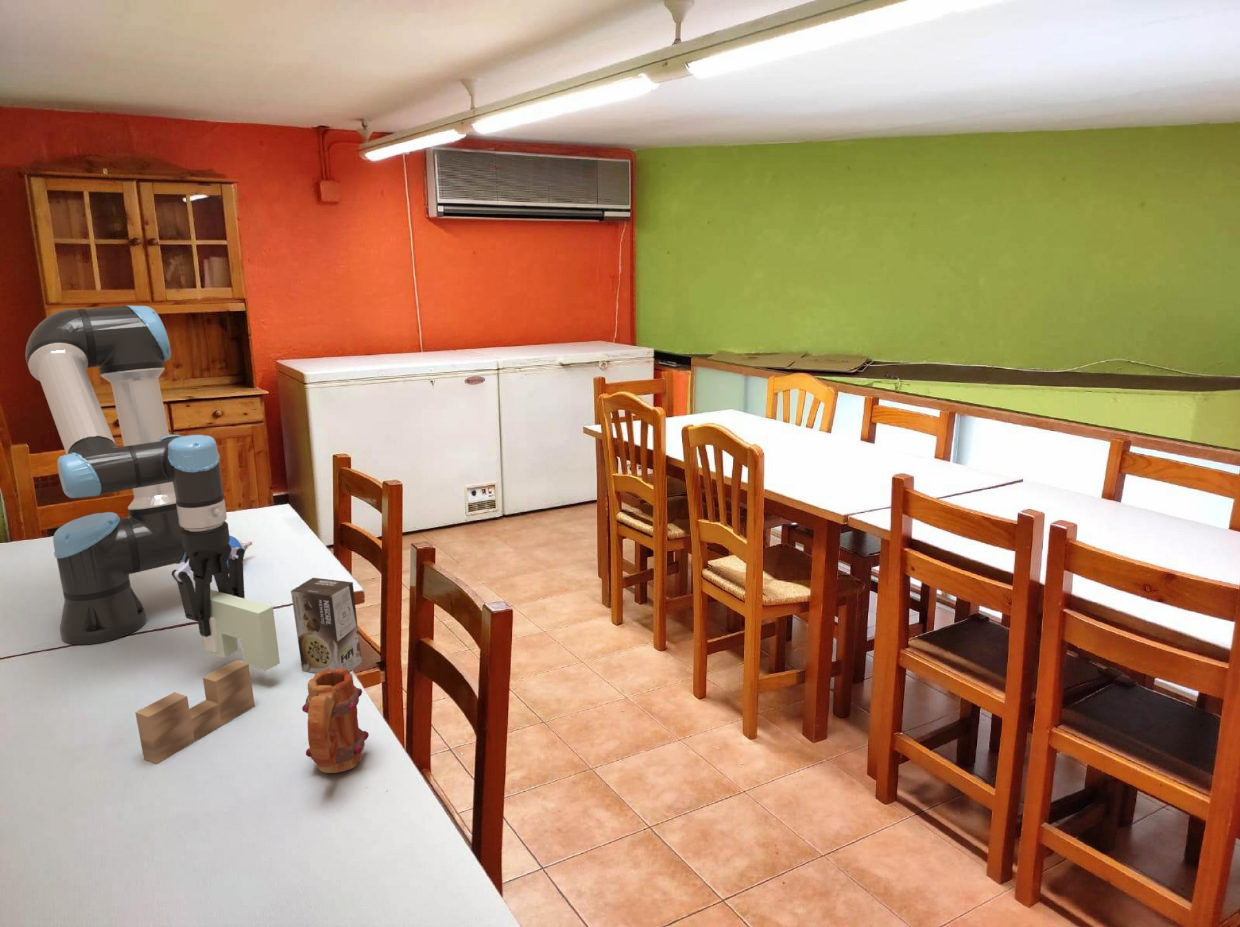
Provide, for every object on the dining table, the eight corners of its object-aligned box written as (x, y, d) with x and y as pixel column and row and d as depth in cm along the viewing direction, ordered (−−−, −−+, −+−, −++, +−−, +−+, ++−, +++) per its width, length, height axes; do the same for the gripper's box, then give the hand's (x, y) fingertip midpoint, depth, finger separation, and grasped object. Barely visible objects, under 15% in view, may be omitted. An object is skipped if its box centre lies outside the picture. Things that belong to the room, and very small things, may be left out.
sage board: (204, 650, 154) (195, 595, 151) (218, 643, 156) (210, 589, 153) (266, 670, 147) (258, 613, 144) (279, 663, 149) (272, 606, 146)
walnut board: (156, 763, 127) (148, 716, 125) (143, 758, 129) (135, 712, 126) (254, 706, 143) (248, 663, 141) (242, 702, 144) (236, 659, 142)
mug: (320, 746, 131) (309, 659, 127) (373, 743, 131) (364, 656, 128) (293, 807, 117) (280, 711, 113) (353, 803, 117) (342, 707, 114)
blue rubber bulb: (269, 563, 207) (264, 531, 205) (224, 579, 198) (219, 545, 195) (239, 554, 213) (235, 523, 211) (195, 570, 204) (190, 537, 202)
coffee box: (363, 661, 157) (354, 581, 153) (341, 678, 151) (332, 595, 147) (322, 655, 160) (313, 576, 156) (299, 671, 154) (289, 589, 150)
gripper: (176, 542, 138) (196, 670, 145) (257, 513, 152) (271, 631, 159) (146, 535, 142) (167, 660, 148) (228, 507, 155) (244, 623, 162)
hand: (221, 645), depth 153 cm, fingers closed on sage board, 3 cm apart
